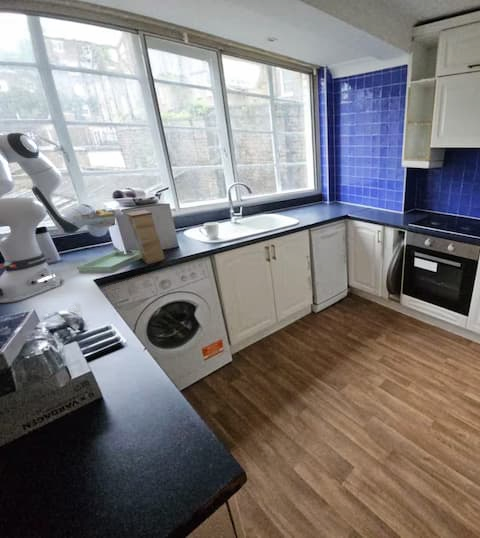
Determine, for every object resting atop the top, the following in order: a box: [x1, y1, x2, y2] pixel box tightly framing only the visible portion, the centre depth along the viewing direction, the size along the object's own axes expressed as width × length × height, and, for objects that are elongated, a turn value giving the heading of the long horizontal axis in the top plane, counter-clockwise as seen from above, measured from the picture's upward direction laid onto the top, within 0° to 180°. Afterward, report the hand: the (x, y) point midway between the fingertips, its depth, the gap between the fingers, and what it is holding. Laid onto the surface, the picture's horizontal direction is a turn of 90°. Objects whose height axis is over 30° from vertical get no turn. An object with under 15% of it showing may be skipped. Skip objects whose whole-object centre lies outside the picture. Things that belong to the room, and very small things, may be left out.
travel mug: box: [35, 225, 62, 265], centre depth 157 cm, size 6×7×20 cm
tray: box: [76, 250, 142, 273], centre depth 156 cm, size 24×18×3 cm
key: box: [95, 209, 114, 218], centre depth 146 cm, size 18×5×1 cm, turn 50°
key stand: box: [125, 209, 166, 265], centre depth 155 cm, size 11×9×26 cm
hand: (99, 211), depth 148 cm, fingers closed on key, 3 cm apart
